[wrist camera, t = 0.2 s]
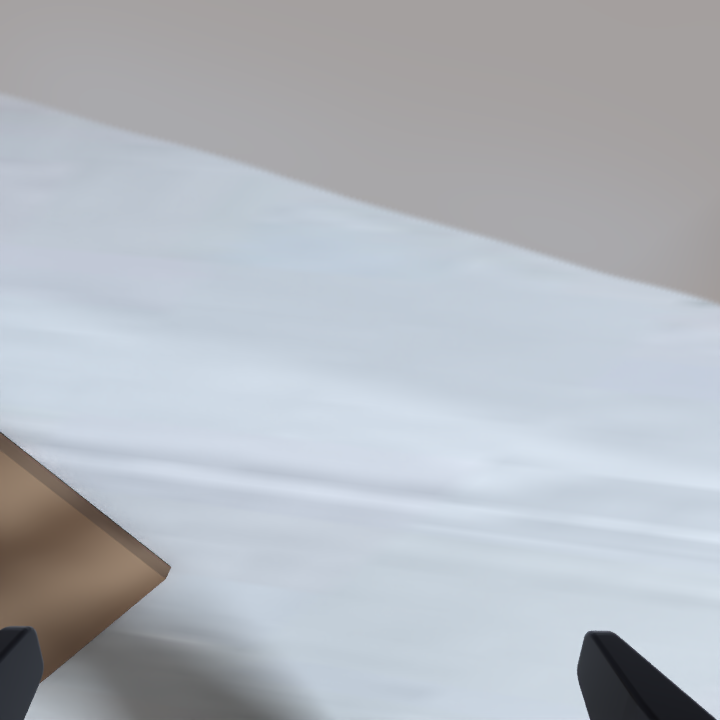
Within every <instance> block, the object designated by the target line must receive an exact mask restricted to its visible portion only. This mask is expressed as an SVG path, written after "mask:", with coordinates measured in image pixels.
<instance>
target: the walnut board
mask: <svg viewBox="0 0 720 720" xmlns="http://www.w3.org/2000/svg"><path fill="white" fill-rule="evenodd" d="M170 569H171V567H170V566H169V565H167V564H166V563H165V562H164V561H162V560H161V559H160V558H158V557H157V556H156V555H155V554H153V553H152V552H151V551H150V550H148V549H147V548H146V547H145V546H143V545H142V544H141V543H139V542H138V541H137V540H136V539H134V538H133V537H132V536H131V535H129V534H128V533H127V532H126V531H124V530H123V529H122V528H120V527H119V526H118V525H117V524H115V523H114V522H113V521H112V520H110V519H109V518H108V517H107V516H105V515H104V514H103V513H101V512H100V511H99V510H98V509H96V508H95V507H94V506H93V505H91V504H90V503H89V502H87V501H86V500H85V499H84V498H82V497H81V496H80V495H79V494H77V493H76V492H75V491H74V490H72V489H71V488H70V487H68V486H67V485H66V484H65V483H63V482H62V481H61V480H60V479H58V478H57V477H56V476H55V475H53V474H52V473H51V472H49V471H48V470H47V469H46V468H44V467H43V466H42V465H41V464H39V463H38V462H37V461H36V460H34V459H33V458H32V457H30V456H29V455H28V454H27V453H25V452H24V451H23V450H22V449H20V448H19V447H18V446H16V445H15V444H14V443H13V442H11V441H10V440H9V439H8V438H6V437H5V436H4V435H3V434H1V433H0V630H1V629H3V628H5V627H8V626H31V627H33V628H34V629H35V630H36V632H37V636H38V641H39V645H40V649H41V653H42V657H43V662H44V669H43V675H42V678H41V681H40V683H41V682H42V681H43V680H44V679H46V678H47V677H48V676H49V675H51V674H52V673H53V672H54V671H55V670H57V669H58V668H59V667H60V666H61V665H63V664H64V663H65V662H66V661H67V660H69V659H70V658H71V657H72V656H73V655H75V654H76V653H77V652H78V651H79V650H81V649H82V648H83V647H84V646H85V645H87V644H88V643H89V642H90V641H91V640H93V639H94V638H95V637H96V636H97V635H99V634H100V633H101V632H102V631H103V630H105V629H106V628H107V627H108V626H110V625H111V624H112V623H113V622H114V621H116V620H117V619H118V618H119V617H120V616H122V615H123V614H124V613H125V612H126V611H128V610H129V609H130V608H131V607H132V606H134V605H135V604H136V603H137V602H138V601H140V600H141V599H142V598H143V597H144V596H146V595H147V594H148V593H149V592H150V591H152V590H153V589H154V588H155V587H156V586H158V585H159V584H160V583H161V582H163V581H164V580H165V579H166V577H167V575H168V573H169V571H170ZM40 683H39V684H40Z"/></svg>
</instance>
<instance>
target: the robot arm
mask: <svg viewBox="0 0 720 720" xmlns="http://www.w3.org/2000/svg"><path fill="white" fill-rule="evenodd" d="M43 669H44V662H43V657H42V653H41V649H40V645H39V641H38V636H37V632H36V630H35V629H34V628H33V627H31V626H8V627H5V628H3V629H1V630H0V720H24V718H25V716H26V713H27V711H28V709H29V707H30V704H31V702H32V700H33V697H34V695H35V693H36V690H37V688H38V686H39V683H40V681H41V678H42V675H43ZM577 675H578V681H579V685H580V688H581V691H582V695H583V698H584V701H585V705H586V708H587V711H588V714H589V718H590V720H716V719H715V718H714V717H713V716H712V715H711V714H709V713H708V712H707V711H706V710H705V709H704V708H702V707H701V706H700V705H699V704H698V703H696V702H695V701H694V700H693V699H692V698H691V697H689V696H688V695H687V694H686V693H685V692H684V691H682V690H681V689H680V688H679V687H678V686H677V685H675V684H674V683H673V682H672V681H671V680H669V679H668V678H667V677H666V676H665V675H664V674H662V673H661V672H660V671H659V670H658V669H657V668H655V667H654V666H653V665H652V664H651V663H650V662H648V661H647V660H646V659H645V658H644V657H642V656H641V655H640V654H639V653H638V652H637V651H635V650H634V649H633V648H632V647H631V646H630V645H628V644H627V643H626V642H625V641H624V640H623V639H621V638H620V637H619V636H618V635H616V634H615V633H613V632H611V631H588V632H587V633H586V634H585V637H584V640H583V645H582V649H581V653H580V657H579V661H578V666H577Z"/></svg>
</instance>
